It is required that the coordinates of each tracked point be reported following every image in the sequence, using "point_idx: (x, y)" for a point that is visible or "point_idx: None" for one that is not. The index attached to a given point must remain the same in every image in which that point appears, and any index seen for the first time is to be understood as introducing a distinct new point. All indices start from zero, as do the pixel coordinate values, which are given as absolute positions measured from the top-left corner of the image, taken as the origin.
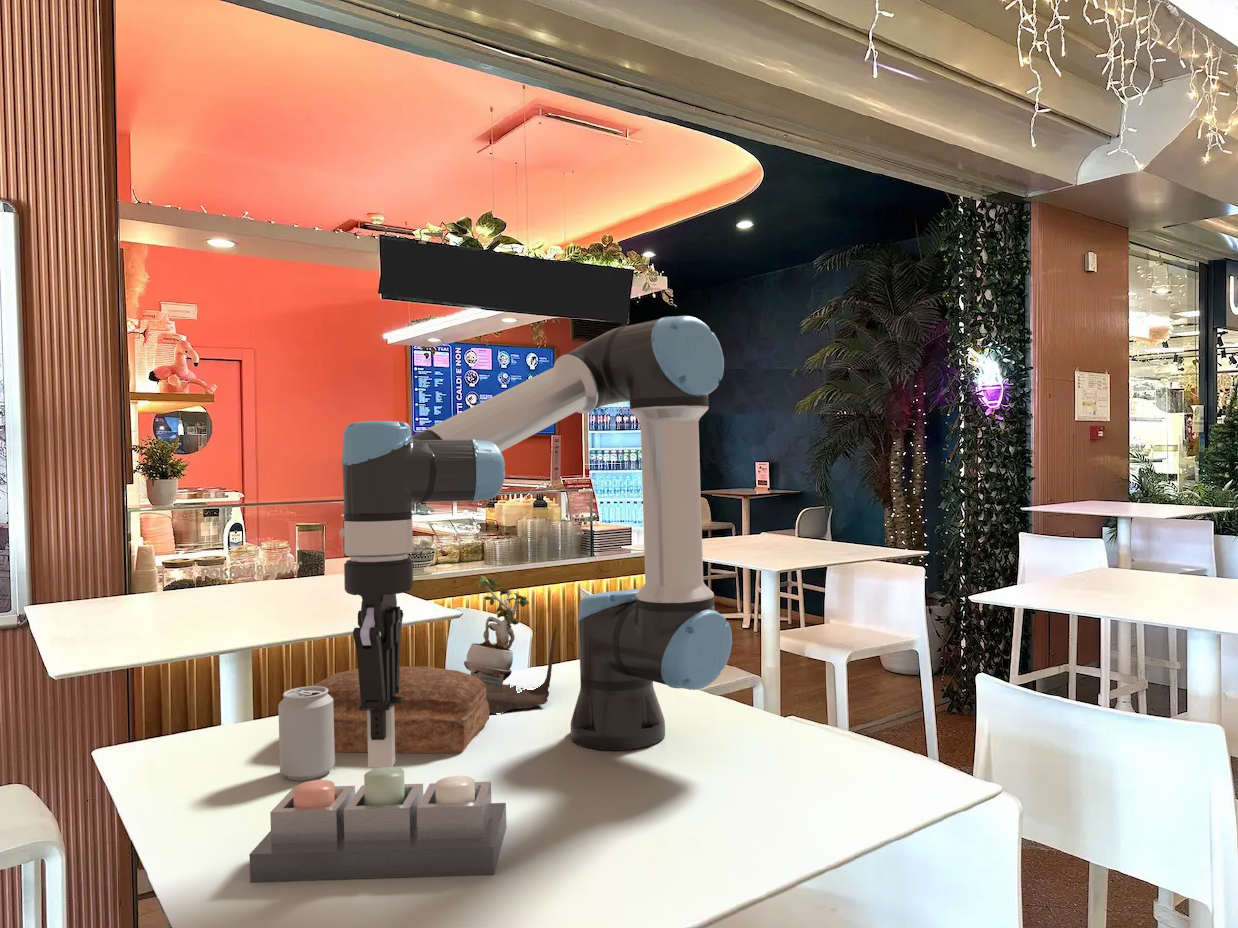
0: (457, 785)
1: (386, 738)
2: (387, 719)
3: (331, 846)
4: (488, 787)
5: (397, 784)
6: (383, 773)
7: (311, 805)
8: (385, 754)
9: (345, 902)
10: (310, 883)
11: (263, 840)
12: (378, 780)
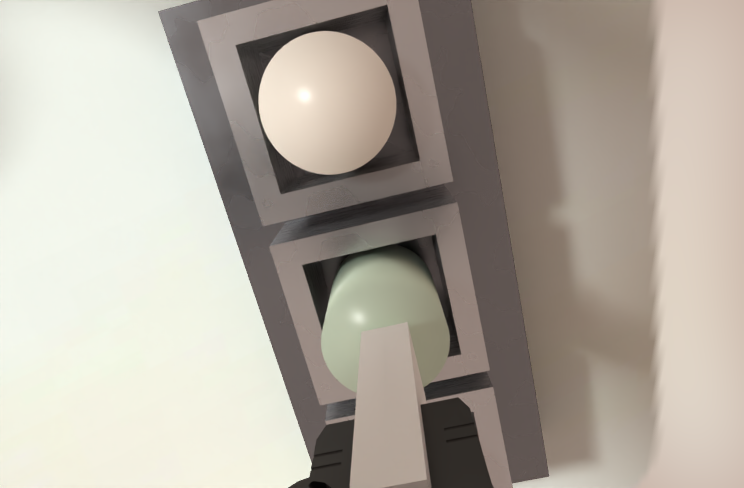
0: (350, 85)
1: (419, 398)
2: (426, 454)
3: (499, 344)
4: (250, 8)
5: (408, 278)
6: None
7: None
8: (415, 365)
9: (595, 234)
10: (526, 336)
11: None
12: (447, 332)
